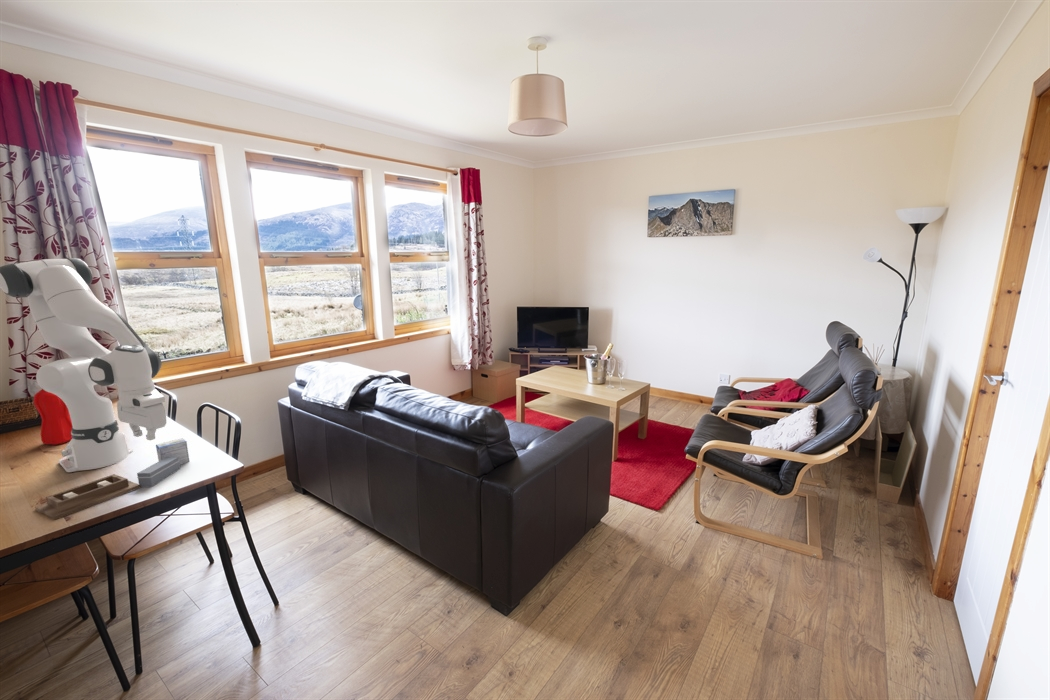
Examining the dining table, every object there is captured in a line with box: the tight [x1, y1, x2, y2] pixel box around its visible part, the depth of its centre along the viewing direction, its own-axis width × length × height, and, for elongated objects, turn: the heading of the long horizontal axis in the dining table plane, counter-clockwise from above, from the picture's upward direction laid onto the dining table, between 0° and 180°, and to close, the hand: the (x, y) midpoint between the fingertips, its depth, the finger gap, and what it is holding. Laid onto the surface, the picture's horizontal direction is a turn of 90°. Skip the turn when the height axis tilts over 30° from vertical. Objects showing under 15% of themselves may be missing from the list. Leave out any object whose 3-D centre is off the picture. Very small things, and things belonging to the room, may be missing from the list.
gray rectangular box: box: [136, 457, 181, 488], centre depth 149 cm, size 4×12×5 cm, turn 1°
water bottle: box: [33, 388, 73, 446], centre depth 180 cm, size 9×11×25 cm
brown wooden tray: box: [34, 473, 141, 520], centre depth 136 cm, size 12×20×4 cm, turn 155°
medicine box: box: [155, 438, 190, 466], centre depth 158 cm, size 8×4×9 cm, turn 141°
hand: (144, 437), depth 145 cm, fingers open, 6 cm apart
